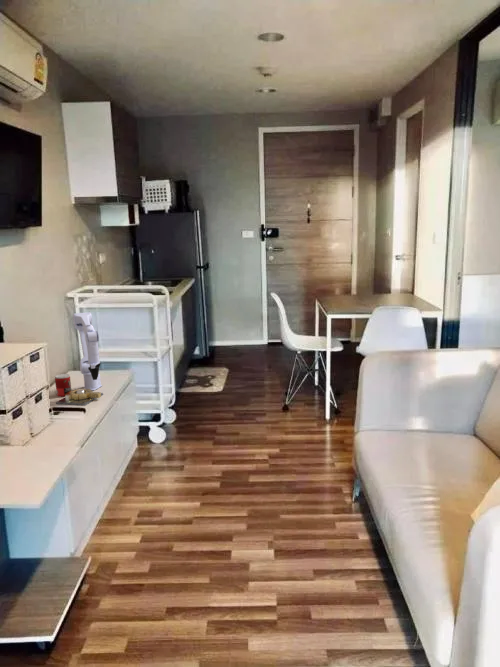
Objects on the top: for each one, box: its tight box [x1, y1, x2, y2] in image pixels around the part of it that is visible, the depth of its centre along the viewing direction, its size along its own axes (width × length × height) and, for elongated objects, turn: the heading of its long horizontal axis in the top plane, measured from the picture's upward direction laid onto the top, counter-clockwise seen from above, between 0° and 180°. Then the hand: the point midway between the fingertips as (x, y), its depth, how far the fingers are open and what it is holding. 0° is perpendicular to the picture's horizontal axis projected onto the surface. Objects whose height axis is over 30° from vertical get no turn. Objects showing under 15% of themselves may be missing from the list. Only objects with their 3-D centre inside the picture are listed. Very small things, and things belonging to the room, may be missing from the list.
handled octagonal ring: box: [69, 388, 102, 400], centre depth 270 cm, size 17×11×2 cm, turn 75°
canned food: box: [54, 373, 72, 398], centre depth 278 cm, size 8×8×11 cm
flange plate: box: [55, 389, 104, 406], centre depth 270 cm, size 18×17×4 cm
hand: (95, 378), depth 274 cm, fingers open, 5 cm apart
